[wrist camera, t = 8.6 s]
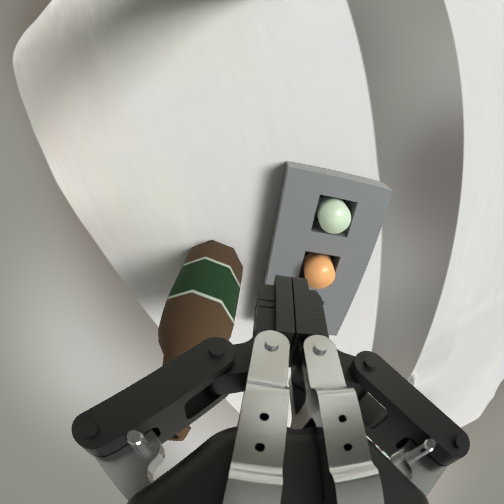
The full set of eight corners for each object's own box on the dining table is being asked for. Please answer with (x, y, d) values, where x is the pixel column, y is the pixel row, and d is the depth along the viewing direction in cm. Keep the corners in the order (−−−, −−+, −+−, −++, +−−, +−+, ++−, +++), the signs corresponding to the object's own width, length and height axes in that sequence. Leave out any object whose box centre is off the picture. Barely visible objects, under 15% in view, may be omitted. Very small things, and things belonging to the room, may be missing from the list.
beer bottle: (244, 288, 39) (219, 456, 19) (190, 285, 40) (135, 440, 19) (243, 239, 35) (208, 423, 15) (183, 237, 36) (100, 400, 15)
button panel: (287, 161, 30) (288, 167, 27) (383, 182, 30) (393, 190, 27) (257, 312, 41) (256, 326, 39) (333, 321, 41) (336, 335, 39)
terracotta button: (306, 248, 34) (309, 261, 31) (334, 252, 34) (339, 265, 31) (300, 272, 35) (301, 286, 33) (326, 276, 35) (330, 290, 33)
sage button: (319, 191, 31) (323, 200, 28) (348, 197, 31) (354, 206, 28) (312, 219, 33) (315, 230, 30) (340, 224, 33) (346, 236, 30)
